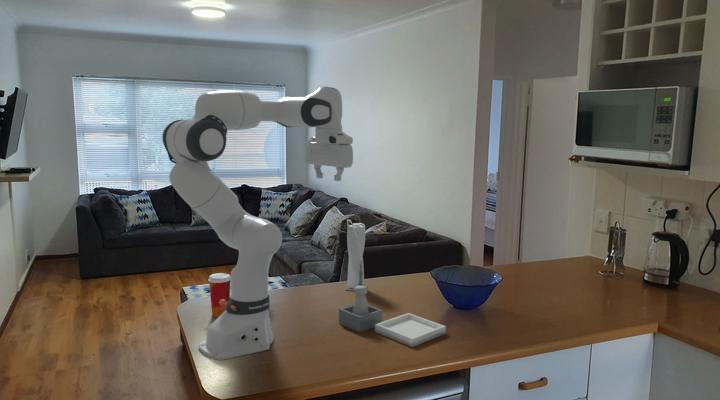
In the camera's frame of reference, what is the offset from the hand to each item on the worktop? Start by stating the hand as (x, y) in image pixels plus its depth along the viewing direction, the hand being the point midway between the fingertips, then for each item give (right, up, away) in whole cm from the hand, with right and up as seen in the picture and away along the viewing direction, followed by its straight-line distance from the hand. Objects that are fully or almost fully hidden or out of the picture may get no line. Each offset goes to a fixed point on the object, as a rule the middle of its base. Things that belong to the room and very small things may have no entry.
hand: (328, 179), depth 183 cm
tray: (+27, -50, -6) cm, 57 cm away
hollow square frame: (+11, -48, +1) cm, 49 cm away
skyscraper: (+9, -43, +40) cm, 59 cm away
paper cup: (-38, -47, +8) cm, 61 cm away
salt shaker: (+11, -49, +1) cm, 50 cm away
